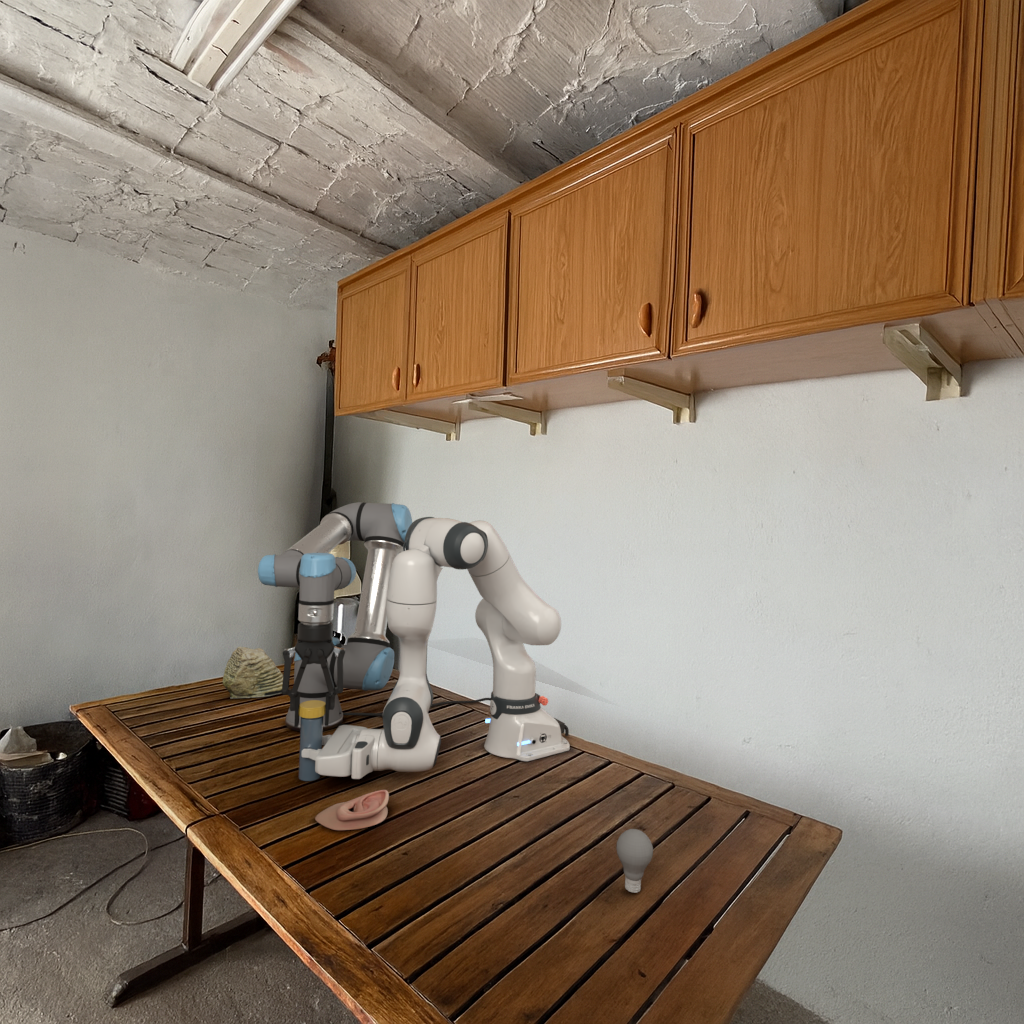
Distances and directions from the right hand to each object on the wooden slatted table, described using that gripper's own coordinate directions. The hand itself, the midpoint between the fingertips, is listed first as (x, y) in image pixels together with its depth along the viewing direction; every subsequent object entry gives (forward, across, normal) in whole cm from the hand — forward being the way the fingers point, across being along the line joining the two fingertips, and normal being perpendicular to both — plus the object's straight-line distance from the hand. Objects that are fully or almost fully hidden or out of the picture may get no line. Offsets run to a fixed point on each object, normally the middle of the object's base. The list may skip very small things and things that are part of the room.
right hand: (306, 746), depth 143 cm
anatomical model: (-15, +17, +7) cm, 24 cm away
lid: (-1, 0, -9) cm, 9 cm away
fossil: (+34, -55, +7) cm, 65 cm away
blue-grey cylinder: (-1, 0, +7) cm, 7 cm away
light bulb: (-66, +38, +7) cm, 77 cm away
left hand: (-1, 0, -5) cm, 5 cm away
